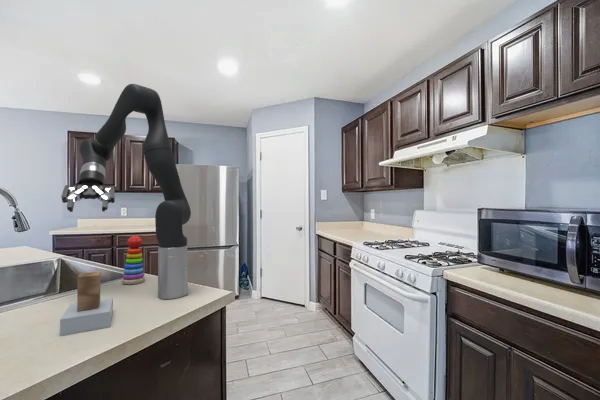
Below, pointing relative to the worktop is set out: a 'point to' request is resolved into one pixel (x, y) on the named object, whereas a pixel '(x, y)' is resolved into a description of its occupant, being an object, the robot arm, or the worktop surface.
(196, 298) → the worktop surface
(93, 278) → the walnut block
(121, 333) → the worktop surface
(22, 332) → the worktop surface
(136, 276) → the stacking toy
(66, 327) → the slate slab
